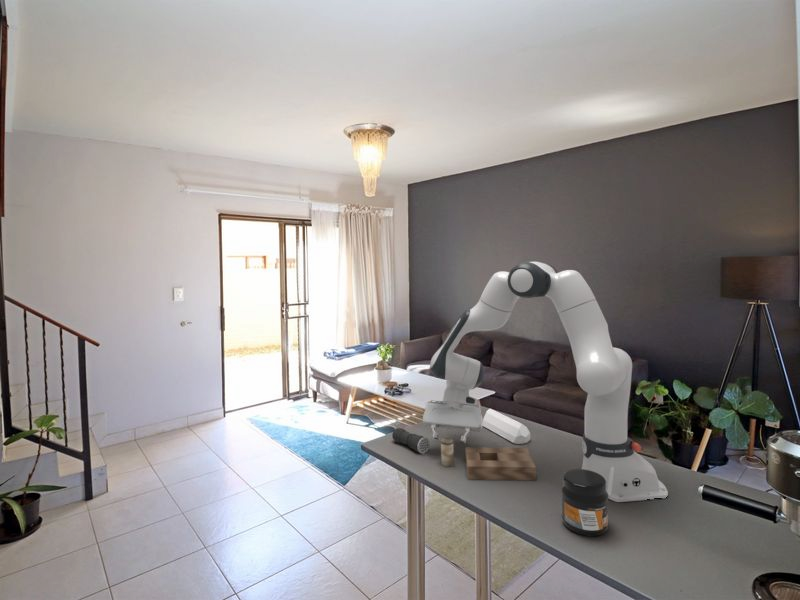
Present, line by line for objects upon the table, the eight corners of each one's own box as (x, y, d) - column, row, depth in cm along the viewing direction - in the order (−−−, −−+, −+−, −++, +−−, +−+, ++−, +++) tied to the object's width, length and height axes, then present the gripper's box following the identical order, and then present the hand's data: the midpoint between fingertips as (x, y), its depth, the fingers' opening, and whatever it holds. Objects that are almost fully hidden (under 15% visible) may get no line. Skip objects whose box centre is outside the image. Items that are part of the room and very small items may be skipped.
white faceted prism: (475, 416, 174) (513, 437, 152) (488, 405, 176) (527, 424, 154) (483, 430, 176) (521, 453, 154) (495, 419, 178) (535, 440, 156)
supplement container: (591, 544, 98) (591, 493, 98) (552, 522, 107) (552, 475, 106) (617, 527, 104) (617, 479, 103) (578, 508, 113) (577, 463, 112)
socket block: (527, 459, 142) (526, 447, 142) (536, 480, 128) (535, 467, 128) (465, 458, 144) (465, 447, 144) (467, 479, 130) (467, 466, 130)
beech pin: (453, 461, 143) (453, 437, 142) (454, 467, 139) (453, 442, 138) (441, 461, 143) (440, 437, 143) (441, 466, 139) (440, 442, 138)
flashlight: (391, 442, 160) (390, 428, 160) (402, 438, 164) (401, 424, 163) (418, 455, 148) (418, 440, 148) (430, 450, 152) (429, 435, 151)
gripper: (424, 395, 153) (416, 432, 144) (482, 400, 145) (477, 439, 137) (428, 404, 157) (421, 440, 149) (485, 409, 150) (480, 447, 142)
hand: (448, 440), depth 143 cm, fingers open, 8 cm apart
